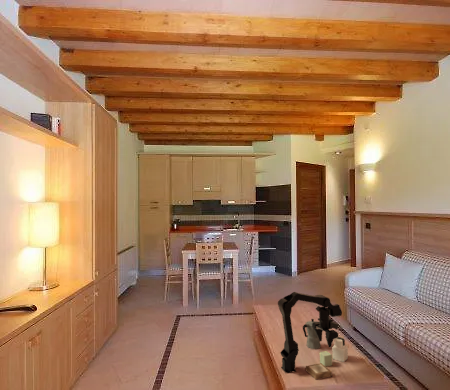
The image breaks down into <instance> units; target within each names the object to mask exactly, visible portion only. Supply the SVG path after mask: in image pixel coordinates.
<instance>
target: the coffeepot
mask: <svg viewBox="0 0 450 390" xmlns="http://www.w3.org/2000/svg"><path fill="white" fill-rule="evenodd" d="M313 322H319V320H318V321H315V319H314V318H311V320H309V321H308V320H307V321H306V322H305V324H303V326H302V331H303V334H304V336H305V338H307V339H306V347H307V348H308V349H310V350H318V349H320V348H321V347H322V345H321V341H320V340H319V338H318V336H317V334H316V332H315V330H314V329H313V327H312V323H313Z"/></svg>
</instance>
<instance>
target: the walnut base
mask: <svg viewBox="0 0 450 390" xmlns="http://www.w3.org/2000/svg"><path fill="white" fill-rule="evenodd" d="M305 371H306V372H307V373H308V374H309V375H310V376H311V377H312V378H314V379H315V380H320V379H324V378H331V377H333V371H331V370H330V369H329V368H328V366H324V365H323V364H322V363H320V362H319V363H315V364H310V365H305Z"/></svg>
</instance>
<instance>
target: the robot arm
mask: <svg viewBox="0 0 450 390" xmlns="http://www.w3.org/2000/svg"><path fill="white" fill-rule="evenodd" d="M298 301H300V302H301V301H302V302H307V303H312V304H317V307H316V308H315V310H316V311H318V316H319V317H318V318H317V320H318V322H313V323H312V327H313V329H314V330H315V332H316V334H317V336H318V338H319V340H320V342H322V341H323V340H322V339H323V332H325V340H326V343H327V346H328V348H329V349H330V348H332V344H333V342H334V339H335V338H337V337H339V332H338V331H336V330H338V328H339V325H340V324H339V323H337V322H335V321H334V320H333V319H331V318H334V317H336V318H337V317H342V315H343V311H342V308H341V307H340V304H338V303H335V304H332V303H331V299H330V298H329V297H327V296H325V295H323V294H316V295H315V294H314V295H312V294H305V293H300V292H296V291H293V292H291V293H290V294H288V295H285V296H284V297H282V298H280V299H278V301H277V306H278V309H279V310H278V311H280V313H281V318H282V324H283V332H284V338H285V341H284V343H283V348H282V350H281V351H280V352H279V353H280V356H281V357H282V358H281V363H282V364H281V370H282V371H283V372H284V373H285V374H287V373H289V374H290V373H293V372H297V369H296V359H297V356H298V355H299V351H300V349H299V344H298V342H296V341H295V340H294V333H293V327H292V320H291V314H292V308H293V307H294V306H296V304H297V302H298ZM330 317H331V318H330ZM334 329H335V330H334Z"/></svg>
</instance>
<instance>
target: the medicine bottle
mask: <svg viewBox="0 0 450 390" xmlns="http://www.w3.org/2000/svg"><path fill="white" fill-rule="evenodd" d="M345 341H346V340H345V339H344V338H343V337H342V336H341V337H339V336H338V337H337V338H334V340H333V342H334V343H333V344H334V345H333V346H331V355H332V360H335V361H339V362H342V363H345V361H346V360H348V358H349V351H348V346H347V345H346V342H345Z"/></svg>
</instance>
